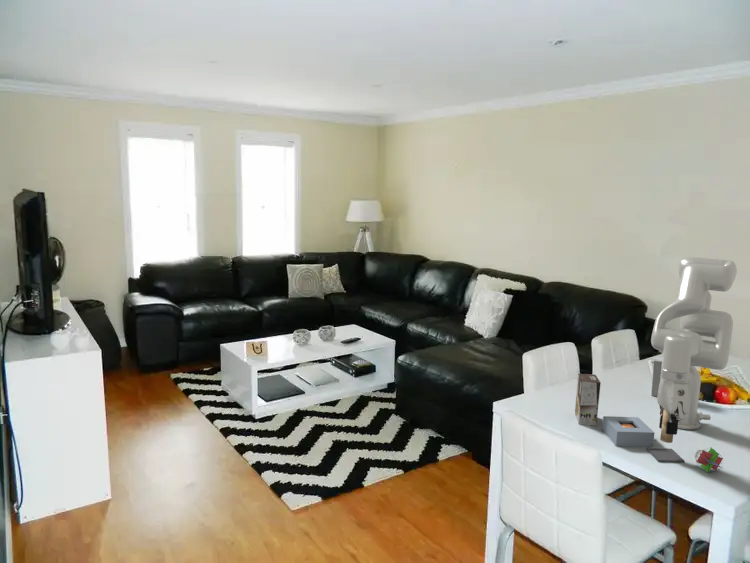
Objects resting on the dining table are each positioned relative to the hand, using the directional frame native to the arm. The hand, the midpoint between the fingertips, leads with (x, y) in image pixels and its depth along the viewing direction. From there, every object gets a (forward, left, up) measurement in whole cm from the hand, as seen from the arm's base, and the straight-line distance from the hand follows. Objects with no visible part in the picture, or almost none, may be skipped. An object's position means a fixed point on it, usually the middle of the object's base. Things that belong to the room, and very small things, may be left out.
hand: (667, 430), depth 170 cm
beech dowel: (0, 0, -3) cm, 3 cm away
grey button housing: (+7, -12, -9) cm, 17 cm away
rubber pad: (0, 0, -9) cm, 9 cm away
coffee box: (+16, -26, -9) cm, 32 cm away
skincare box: (-24, -52, -9) cm, 58 cm away
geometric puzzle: (-9, +8, -9) cm, 15 cm away
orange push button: (+7, -12, -8) cm, 16 cm away
